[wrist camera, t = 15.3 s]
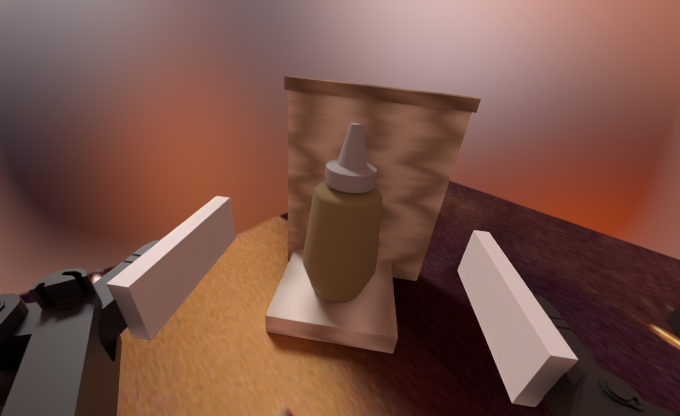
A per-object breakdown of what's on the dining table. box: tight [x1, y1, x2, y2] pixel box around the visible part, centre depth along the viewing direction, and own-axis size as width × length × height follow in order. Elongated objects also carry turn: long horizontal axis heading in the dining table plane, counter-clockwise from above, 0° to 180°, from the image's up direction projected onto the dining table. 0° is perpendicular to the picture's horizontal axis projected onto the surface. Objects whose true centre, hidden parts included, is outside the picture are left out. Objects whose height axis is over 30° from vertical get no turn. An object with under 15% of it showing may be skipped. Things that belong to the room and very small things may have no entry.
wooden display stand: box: [265, 76, 480, 354], centre depth 26 cm, size 19×13×23 cm
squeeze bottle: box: [303, 123, 383, 303], centre depth 25 cm, size 8×8×18 cm
